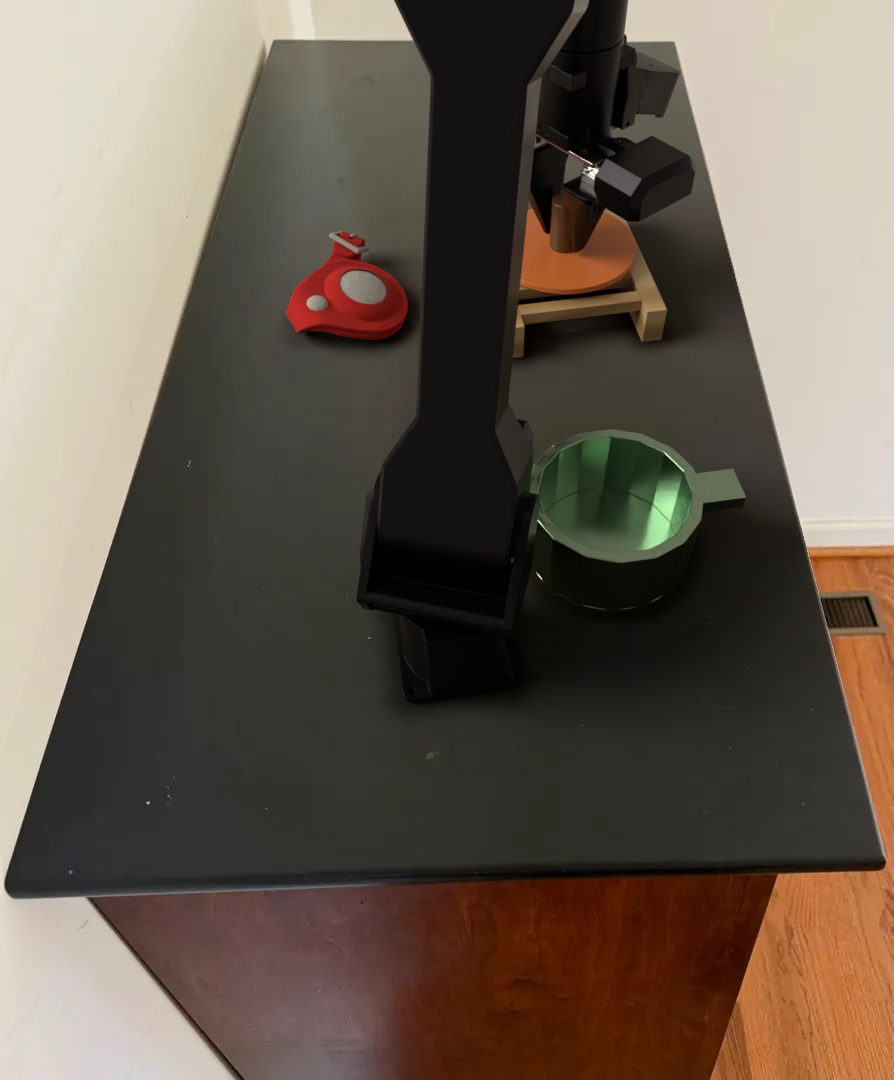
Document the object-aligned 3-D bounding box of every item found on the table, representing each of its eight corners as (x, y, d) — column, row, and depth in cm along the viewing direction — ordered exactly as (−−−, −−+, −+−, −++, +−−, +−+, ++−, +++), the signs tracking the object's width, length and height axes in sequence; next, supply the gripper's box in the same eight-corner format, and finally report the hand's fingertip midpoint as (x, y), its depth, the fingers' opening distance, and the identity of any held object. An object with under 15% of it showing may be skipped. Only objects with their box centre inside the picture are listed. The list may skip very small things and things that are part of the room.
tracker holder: (434, 311, 72) (324, 334, 67) (419, 350, 76) (313, 375, 71) (363, 209, 76) (254, 224, 72) (352, 250, 80) (247, 267, 75)
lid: (652, 291, 70) (662, 233, 66) (506, 309, 69) (508, 251, 65) (614, 209, 77) (621, 152, 73) (481, 224, 76) (481, 167, 72)
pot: (750, 595, 56) (773, 541, 52) (499, 630, 55) (501, 578, 51) (698, 472, 63) (714, 414, 58) (472, 502, 62) (471, 446, 57)
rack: (661, 340, 71) (667, 309, 69) (503, 359, 70) (503, 329, 68) (610, 224, 81) (614, 193, 78) (470, 240, 80) (470, 209, 78)
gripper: (774, 43, 58) (723, 254, 70) (573, -42, 67) (559, 157, 80) (651, 102, 54) (620, 314, 66) (455, 2, 63) (460, 205, 76)
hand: (564, 240), depth 72 cm, fingers open, 3 cm apart
